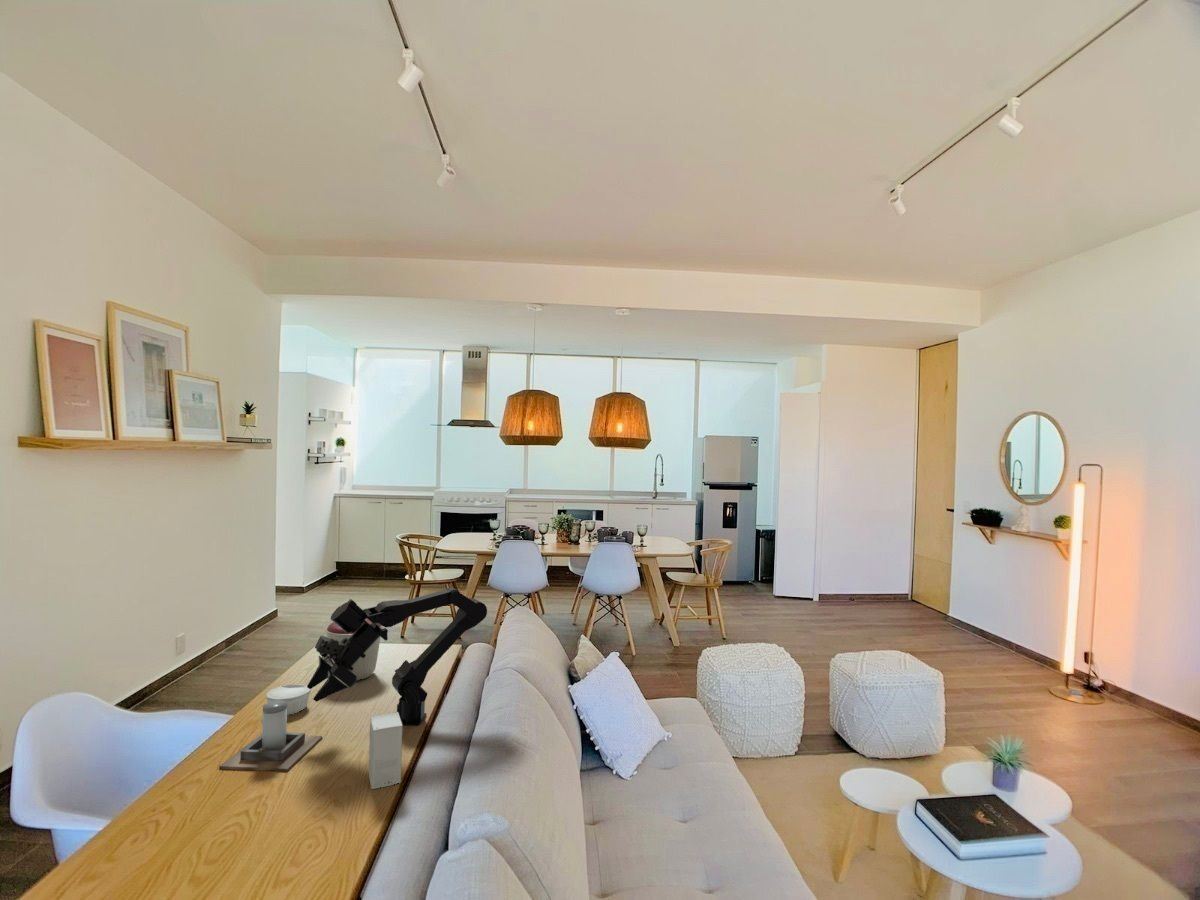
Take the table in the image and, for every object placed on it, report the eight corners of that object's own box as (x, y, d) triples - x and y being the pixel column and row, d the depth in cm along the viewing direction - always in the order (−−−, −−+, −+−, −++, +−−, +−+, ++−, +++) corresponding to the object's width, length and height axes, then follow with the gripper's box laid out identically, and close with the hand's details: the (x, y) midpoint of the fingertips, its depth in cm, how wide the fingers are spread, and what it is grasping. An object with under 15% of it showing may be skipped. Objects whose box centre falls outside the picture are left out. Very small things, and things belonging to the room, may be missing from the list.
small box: (401, 783, 130) (403, 725, 130) (370, 790, 127) (372, 730, 128) (396, 766, 137) (398, 710, 138) (368, 772, 135) (369, 715, 135)
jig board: (322, 738, 150) (322, 728, 150) (287, 771, 134) (287, 760, 134) (261, 735, 150) (261, 725, 150) (219, 768, 134) (219, 757, 134)
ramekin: (312, 699, 173) (313, 681, 174) (306, 715, 163) (307, 696, 163) (270, 703, 170) (271, 685, 170) (261, 720, 159) (262, 701, 159)
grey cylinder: (290, 748, 143) (291, 703, 143) (269, 757, 139) (270, 711, 139) (278, 742, 146) (279, 698, 146) (257, 751, 141) (258, 706, 141)
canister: (321, 690, 180) (324, 621, 181) (323, 670, 197) (325, 607, 197) (383, 682, 188) (386, 617, 188) (380, 663, 204) (382, 603, 204)
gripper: (329, 616, 158) (281, 664, 151) (344, 634, 143) (292, 688, 136) (358, 640, 162) (313, 688, 156) (376, 660, 147) (327, 714, 141)
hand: (311, 694), depth 147 cm, fingers open, 9 cm apart
